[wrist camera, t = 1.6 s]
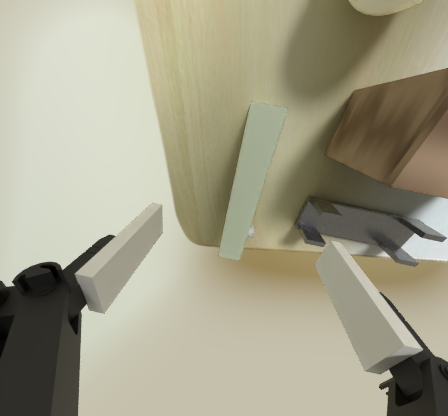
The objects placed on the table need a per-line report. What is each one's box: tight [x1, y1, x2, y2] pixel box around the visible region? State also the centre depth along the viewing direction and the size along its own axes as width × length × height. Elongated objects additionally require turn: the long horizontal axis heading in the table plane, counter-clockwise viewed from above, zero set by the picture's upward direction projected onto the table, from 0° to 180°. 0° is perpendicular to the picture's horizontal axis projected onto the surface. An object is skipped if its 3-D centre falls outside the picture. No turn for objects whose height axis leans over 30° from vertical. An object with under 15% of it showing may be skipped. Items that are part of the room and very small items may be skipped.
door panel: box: [218, 101, 288, 261], centre depth 23 cm, size 18×4×11 cm, turn 170°
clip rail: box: [295, 197, 447, 266], centre depth 27 cm, size 6×19×5 cm, turn 80°
